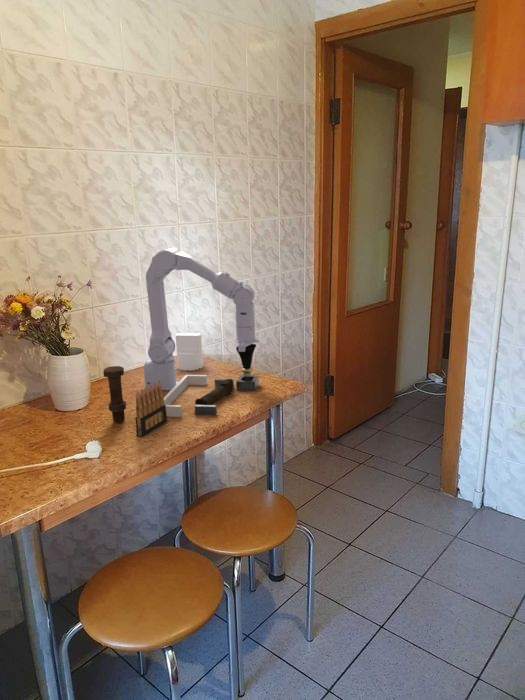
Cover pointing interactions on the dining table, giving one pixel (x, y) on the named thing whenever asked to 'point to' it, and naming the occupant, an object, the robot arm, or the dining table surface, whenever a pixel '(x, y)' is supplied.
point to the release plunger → (247, 373)
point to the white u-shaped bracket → (176, 391)
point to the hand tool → (216, 393)
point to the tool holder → (240, 386)
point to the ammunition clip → (150, 410)
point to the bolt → (116, 392)
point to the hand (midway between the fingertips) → (247, 368)
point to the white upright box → (189, 351)
